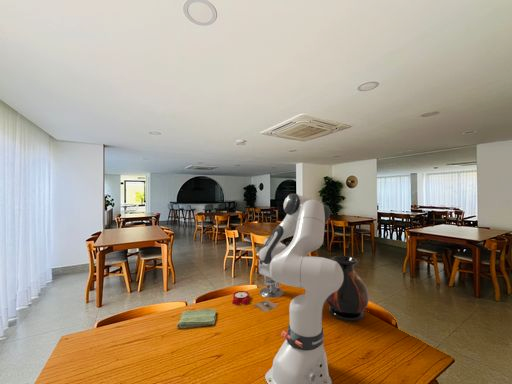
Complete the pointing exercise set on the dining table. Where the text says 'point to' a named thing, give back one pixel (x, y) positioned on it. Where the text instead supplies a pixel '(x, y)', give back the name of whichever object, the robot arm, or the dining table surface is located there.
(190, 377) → the dining table surface
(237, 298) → the alarm clock
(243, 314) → the dining table surface
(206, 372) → the dining table surface
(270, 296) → the hub
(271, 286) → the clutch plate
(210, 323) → the washcloth
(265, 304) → the stand
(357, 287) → the amphora vase
